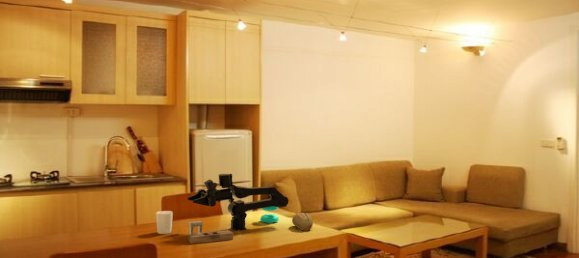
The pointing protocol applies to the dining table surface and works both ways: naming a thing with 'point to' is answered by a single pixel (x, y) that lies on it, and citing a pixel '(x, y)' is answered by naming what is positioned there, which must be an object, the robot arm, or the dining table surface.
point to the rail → (210, 236)
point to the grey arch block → (196, 224)
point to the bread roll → (303, 221)
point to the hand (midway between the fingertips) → (190, 200)
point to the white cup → (164, 222)
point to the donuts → (269, 215)
